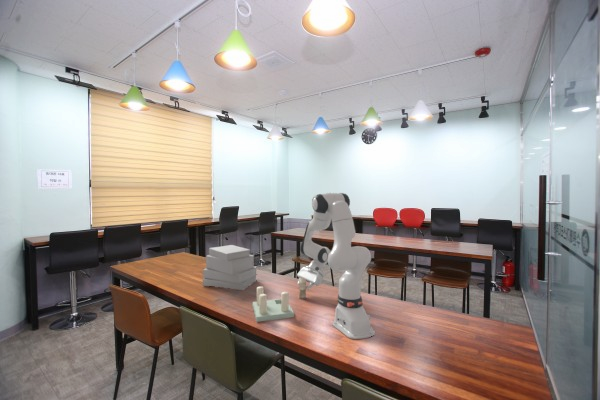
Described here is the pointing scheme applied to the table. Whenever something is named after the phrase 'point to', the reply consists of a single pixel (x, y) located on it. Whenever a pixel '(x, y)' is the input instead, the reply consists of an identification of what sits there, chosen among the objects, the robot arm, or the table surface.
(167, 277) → the table surface
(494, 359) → the table surface
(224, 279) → the book stack
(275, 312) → the stool seat
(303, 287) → the loose leg
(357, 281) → the robot arm
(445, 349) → the table surface
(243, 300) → the table surface
